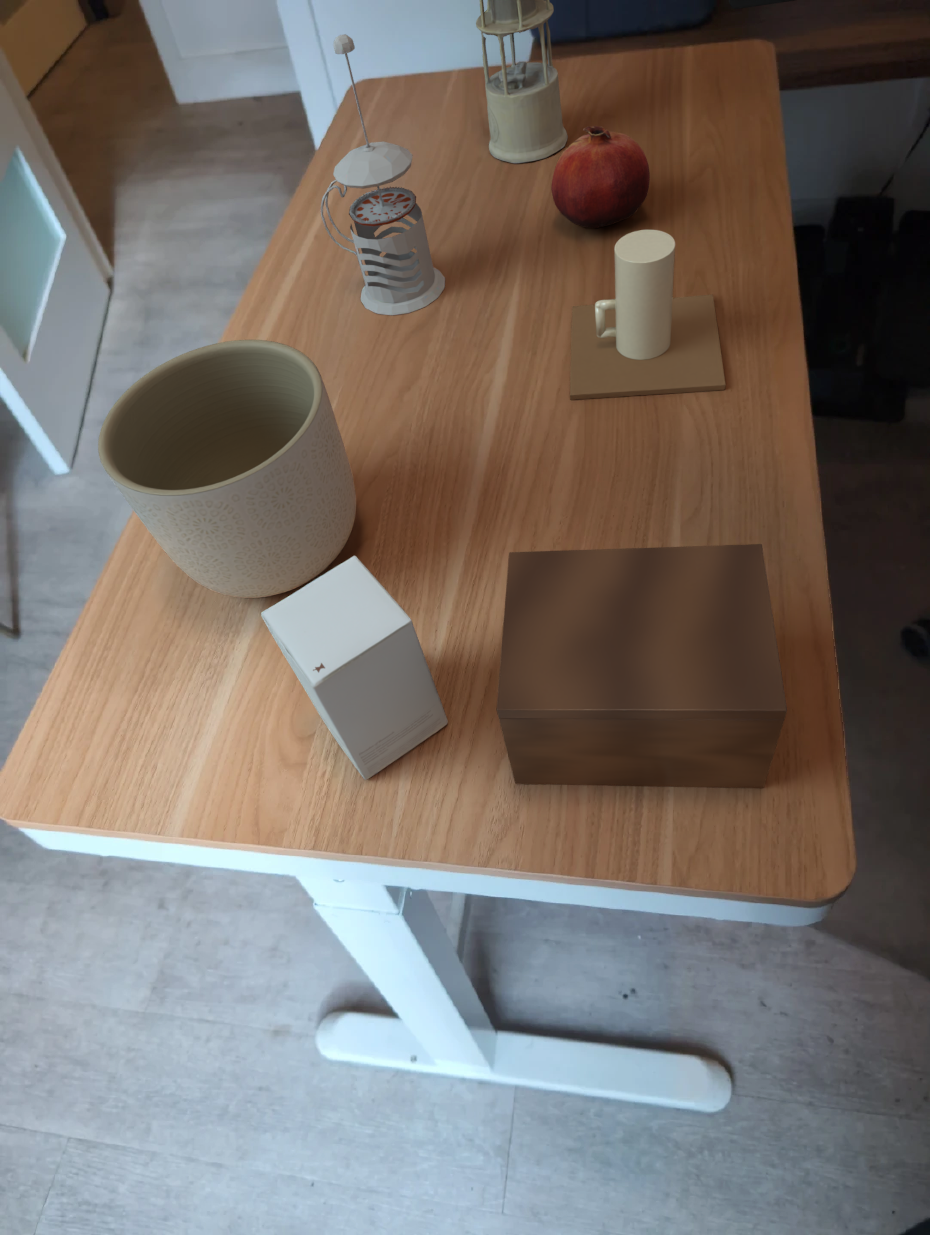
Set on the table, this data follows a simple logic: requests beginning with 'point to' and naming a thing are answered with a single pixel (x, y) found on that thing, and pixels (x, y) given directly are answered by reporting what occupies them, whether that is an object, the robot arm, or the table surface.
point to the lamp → (521, 85)
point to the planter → (235, 466)
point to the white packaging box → (359, 665)
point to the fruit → (600, 178)
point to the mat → (675, 371)
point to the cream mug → (641, 295)
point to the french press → (400, 272)
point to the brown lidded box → (640, 667)
